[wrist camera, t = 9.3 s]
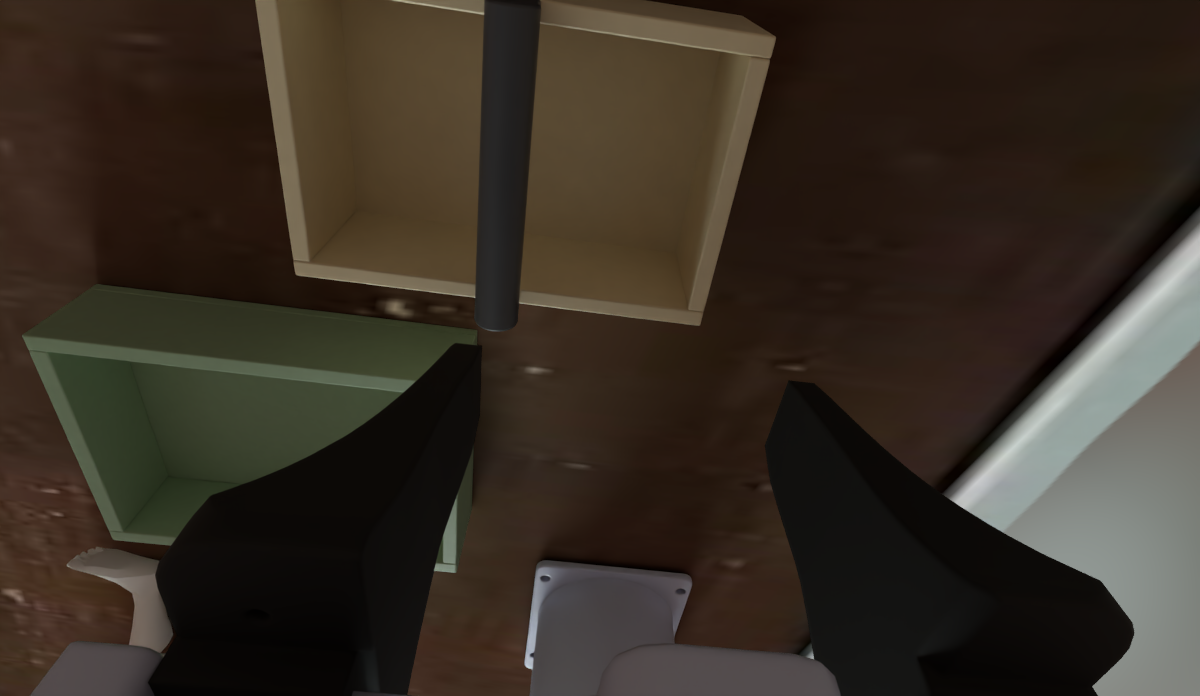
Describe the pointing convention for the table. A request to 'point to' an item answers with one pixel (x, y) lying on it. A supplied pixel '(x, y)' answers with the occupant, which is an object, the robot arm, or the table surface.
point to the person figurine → (132, 591)
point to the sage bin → (219, 396)
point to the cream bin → (513, 147)
